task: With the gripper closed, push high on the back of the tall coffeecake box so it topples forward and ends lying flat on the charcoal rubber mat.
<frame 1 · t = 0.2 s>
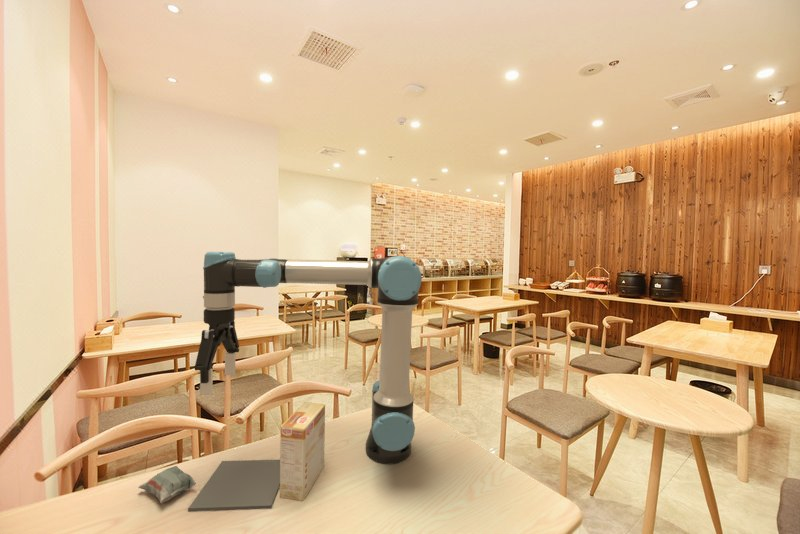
hand: (219, 384, 92), 28 cm above the table, fingers open, 13 cm apart
packaged food: (166, 494, 89), on the table
mat: (244, 483, 93), on the table
coffeecake box: (303, 481, 95), on the table
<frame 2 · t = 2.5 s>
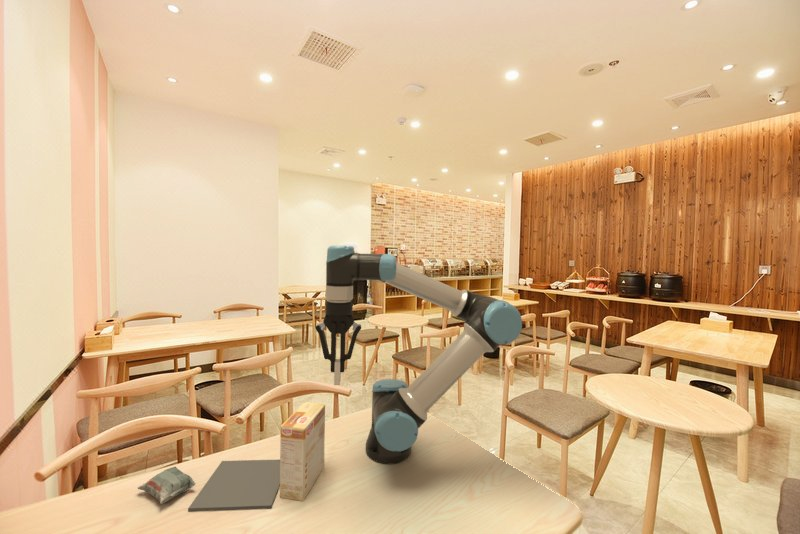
hand: (337, 383, 95), 28 cm above the table, fingers closed
nothing on the table moved.
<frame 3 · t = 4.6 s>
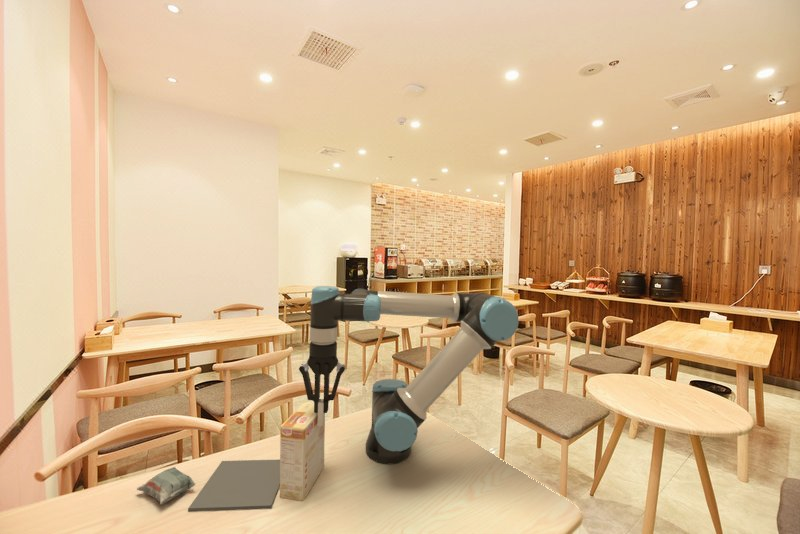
hand: (320, 423, 95), 17 cm above the table, fingers closed
coffeecake box: (303, 481, 95), on the table, touching gripper
everything else where it was.
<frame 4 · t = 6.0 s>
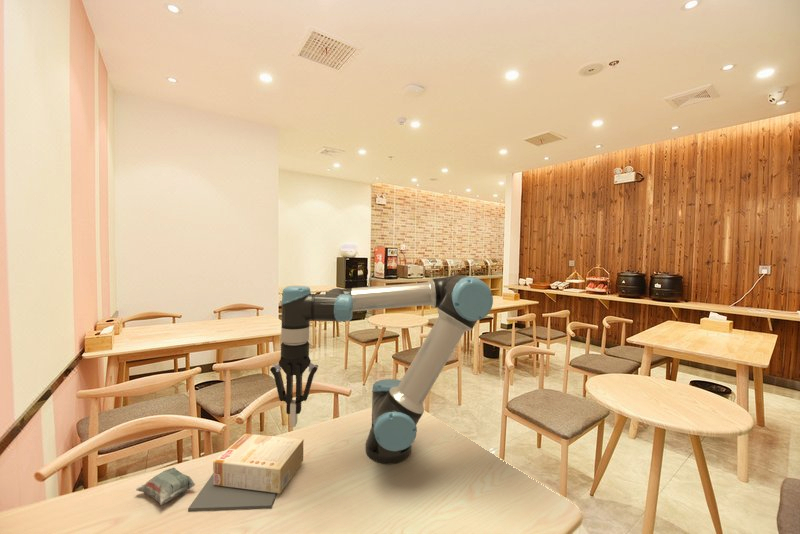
hand: (293, 424, 94), 16 cm above the table, fingers closed
coffeecake box: (293, 464, 95), point 4 cm above the table, touching mat
everything else where it was.
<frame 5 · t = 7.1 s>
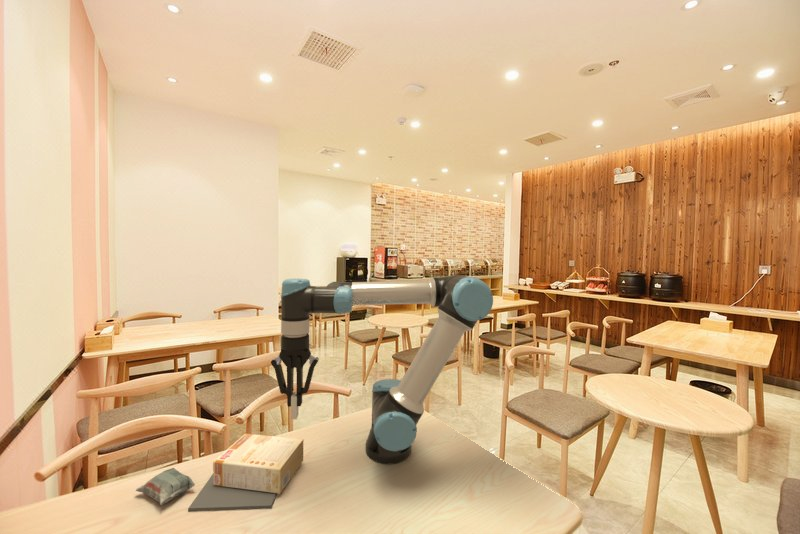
hand: (294, 417, 94), 19 cm above the table, fingers closed
nothing on the table moved.
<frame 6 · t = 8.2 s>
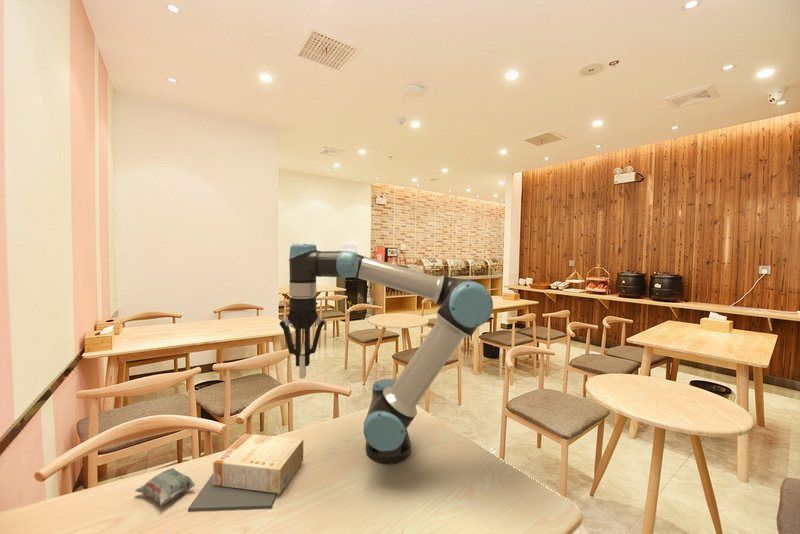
hand: (302, 376, 98), 28 cm above the table, fingers closed
nothing on the table moved.
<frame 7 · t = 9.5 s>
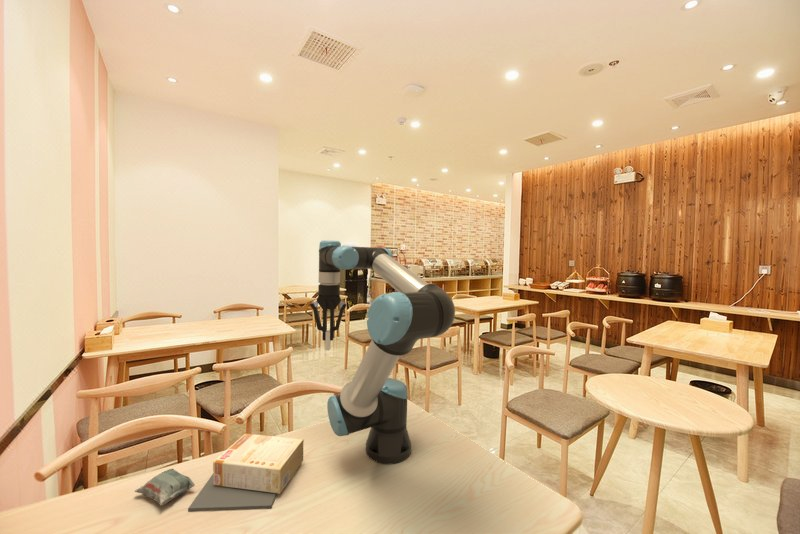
hand: (327, 349, 120), 30 cm above the table, fingers closed
nothing on the table moved.
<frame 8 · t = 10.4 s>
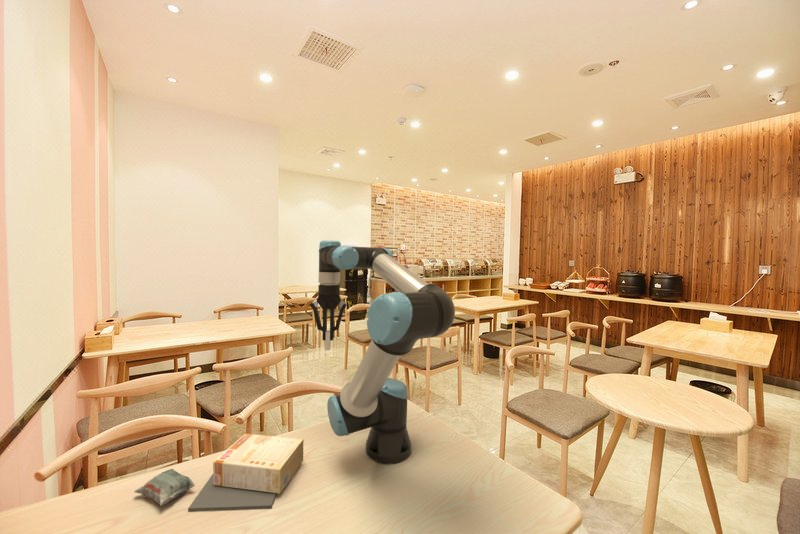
hand: (327, 349, 120), 30 cm above the table, fingers closed
at the end: coffeecake box tilted 90°; coffeecake box touching mat; packaged food moved 1.2 cm from its start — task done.
